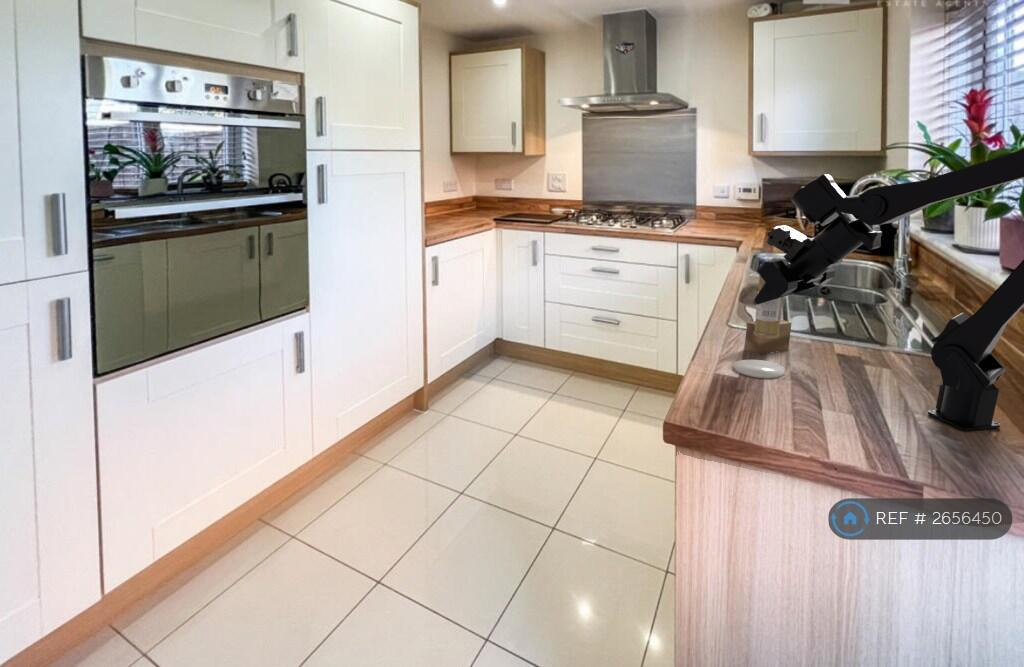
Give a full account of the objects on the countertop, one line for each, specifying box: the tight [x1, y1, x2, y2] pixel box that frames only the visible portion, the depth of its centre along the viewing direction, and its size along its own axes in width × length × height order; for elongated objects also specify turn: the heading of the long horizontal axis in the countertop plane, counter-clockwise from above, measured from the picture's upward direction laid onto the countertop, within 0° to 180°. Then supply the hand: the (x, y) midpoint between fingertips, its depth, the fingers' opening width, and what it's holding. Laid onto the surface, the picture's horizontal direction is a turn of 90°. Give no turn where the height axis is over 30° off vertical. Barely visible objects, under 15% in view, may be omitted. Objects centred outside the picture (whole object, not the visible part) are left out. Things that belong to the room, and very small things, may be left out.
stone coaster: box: [733, 359, 786, 379], centre depth 111 cm, size 9×9×1 cm
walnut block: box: [744, 318, 792, 355], centre depth 123 cm, size 4×8×6 cm, turn 112°
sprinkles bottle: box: [754, 263, 784, 338], centre depth 109 cm, size 5×5×13 cm
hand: (762, 300), depth 110 cm, fingers closed on sprinkles bottle, 4 cm apart
